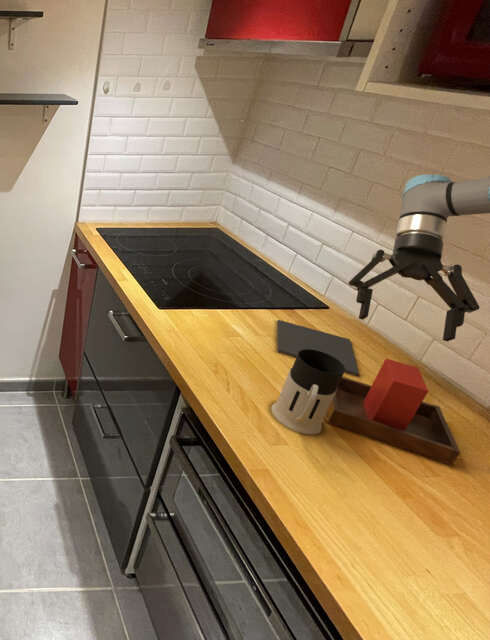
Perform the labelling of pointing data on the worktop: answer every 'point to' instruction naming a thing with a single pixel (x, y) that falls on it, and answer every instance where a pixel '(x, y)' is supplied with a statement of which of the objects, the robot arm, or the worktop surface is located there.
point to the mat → (315, 344)
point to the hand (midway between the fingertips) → (404, 328)
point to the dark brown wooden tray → (419, 437)
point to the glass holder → (308, 391)
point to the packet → (395, 394)
